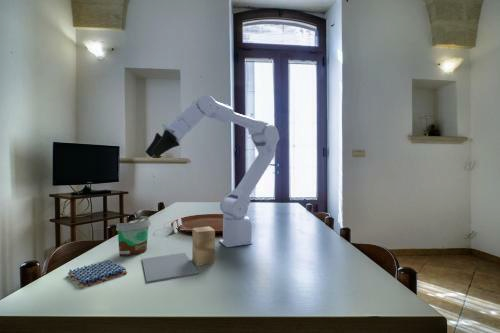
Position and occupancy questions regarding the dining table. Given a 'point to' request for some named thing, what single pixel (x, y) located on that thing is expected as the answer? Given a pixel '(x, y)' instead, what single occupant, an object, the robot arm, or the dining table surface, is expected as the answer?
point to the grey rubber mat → (168, 267)
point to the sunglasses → (175, 225)
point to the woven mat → (96, 273)
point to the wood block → (203, 245)
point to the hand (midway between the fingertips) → (150, 154)
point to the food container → (133, 236)
